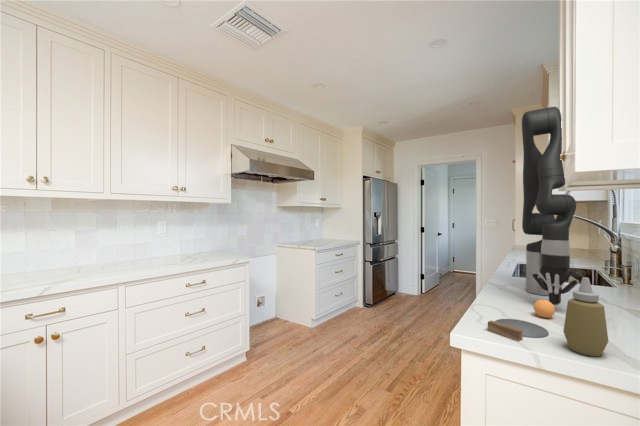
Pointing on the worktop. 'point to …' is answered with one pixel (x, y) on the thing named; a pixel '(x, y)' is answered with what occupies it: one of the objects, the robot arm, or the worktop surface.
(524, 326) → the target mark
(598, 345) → the squeeze bottle
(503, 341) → the worktop surface
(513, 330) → the strip
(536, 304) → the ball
